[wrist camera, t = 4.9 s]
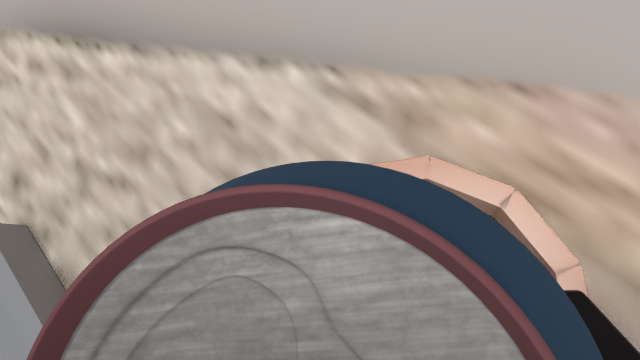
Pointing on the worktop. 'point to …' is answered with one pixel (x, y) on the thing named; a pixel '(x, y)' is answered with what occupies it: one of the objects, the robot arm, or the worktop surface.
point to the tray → (23, 291)
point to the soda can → (317, 278)
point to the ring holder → (501, 213)
